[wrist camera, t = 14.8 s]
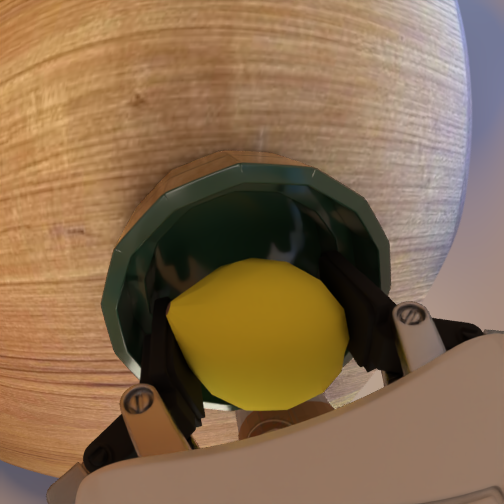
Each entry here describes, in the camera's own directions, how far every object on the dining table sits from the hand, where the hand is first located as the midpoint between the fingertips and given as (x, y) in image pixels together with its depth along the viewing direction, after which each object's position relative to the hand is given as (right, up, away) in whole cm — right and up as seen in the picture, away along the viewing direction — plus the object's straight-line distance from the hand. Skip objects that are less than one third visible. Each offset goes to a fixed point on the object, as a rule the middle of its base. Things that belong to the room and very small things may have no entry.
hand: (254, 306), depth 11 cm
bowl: (-1, +2, +3) cm, 4 cm away
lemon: (0, 0, +1) cm, 1 cm away
